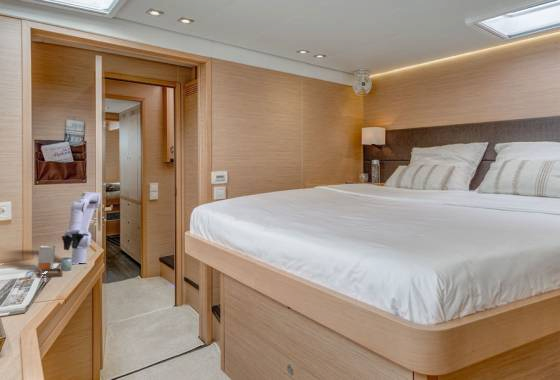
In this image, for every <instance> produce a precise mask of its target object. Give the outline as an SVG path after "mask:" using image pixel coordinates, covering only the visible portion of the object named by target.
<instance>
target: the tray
mask: <svg viewBox="0 0 560 380" xmlns="http://www.w3.org/2000/svg"><path fill="white" fill-rule="evenodd" d="M45 271H48V273H46V274H42V273H44V272H45ZM63 274H64V273H63V271H62V270H61V267H58V268H55V267H53V269H40V270H39V276H40V275H41V276H42V275H43V276H47V277H46V278H59V277H60V278H61V277H63Z"/></svg>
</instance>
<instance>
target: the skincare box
mask: <svg viewBox="0 0 560 380" xmlns="http://www.w3.org/2000/svg"><path fill="white" fill-rule="evenodd" d="M55 250H56V245H41V246H39V250H38V260H37V261H38V262H37V270H39V271H40V269H52V268H53V269H54V264H55V263H54V262H55Z"/></svg>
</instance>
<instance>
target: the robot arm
mask: <svg viewBox="0 0 560 380" xmlns="http://www.w3.org/2000/svg"><path fill="white" fill-rule="evenodd" d="M80 196H81V197H79V198H78V200H76V201H73V202H72V203H71V205H70V218H69V222H68V226H67V227H68V229H66V230H65V231H64V234H63V236H61V239H62V243H63V250H64V251H65V250H66V251H69V250H70V247H71V248H72V251H71V258H72V264H71V265H80V264H79V263H83V262H85V261H87V251H88V247H90V246H91V243H92V233H91V232H90V231H89V228H90V225H91V222H92V218H93V216H94V212H95V210H96V209H97V208H99V206H100V204H101V201H102V200H101V199H102V193H101V192H99V191H98V192H97V191H96V192H93V191H85V190H84V191H82V192H81V195H80Z"/></svg>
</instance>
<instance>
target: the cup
mask: <svg viewBox="0 0 560 380" xmlns="http://www.w3.org/2000/svg"><path fill="white" fill-rule="evenodd" d="M72 265H73V264H72V257H62V258H61V260H60V268H61V270H62V272H70V271H71V270H72Z"/></svg>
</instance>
